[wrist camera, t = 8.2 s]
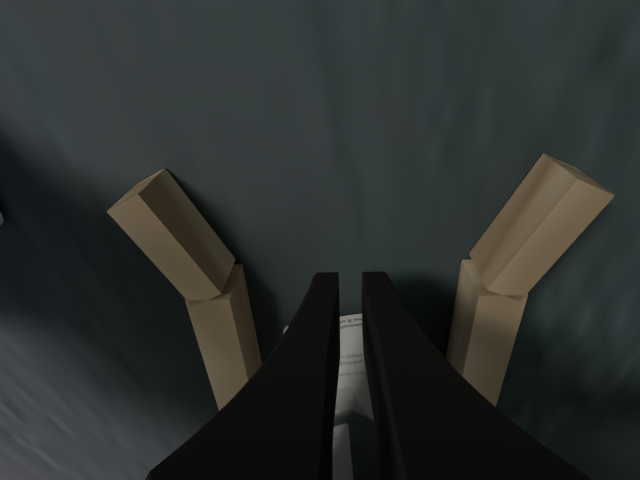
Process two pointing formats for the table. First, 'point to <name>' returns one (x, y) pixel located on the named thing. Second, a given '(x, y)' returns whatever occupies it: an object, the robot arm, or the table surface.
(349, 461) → the ink box
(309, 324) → the robot arm
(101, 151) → the table surface
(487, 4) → the table surface
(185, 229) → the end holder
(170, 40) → the table surface
